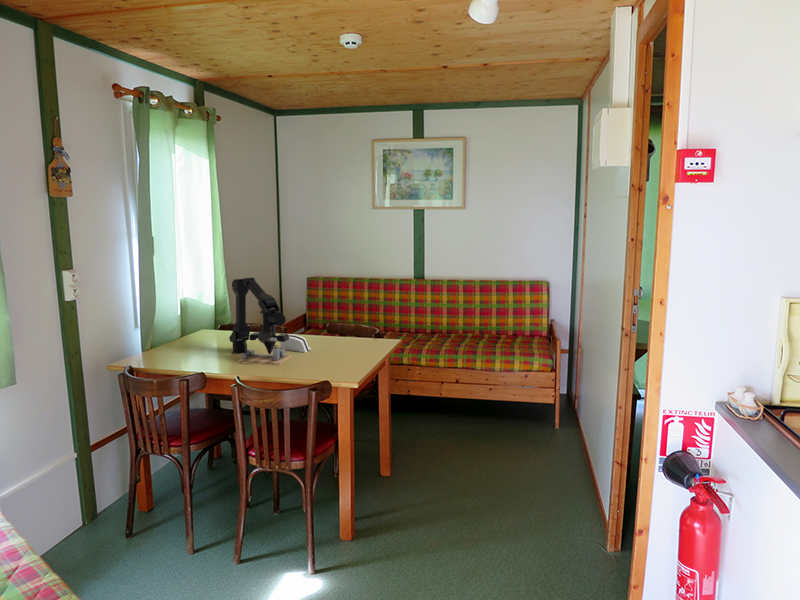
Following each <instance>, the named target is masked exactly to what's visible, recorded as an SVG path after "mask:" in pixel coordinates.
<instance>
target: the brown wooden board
mask: <svg viewBox="0 0 800 600" xmlns="http://www.w3.org/2000/svg"><path fill="white" fill-rule="evenodd" d="M270 355H273V353H271V354H270ZM291 357H292V356H291V355H290V354H289V355H288V354H287V355H286V354H285V358H280V359H279V360H273V358H271V357H254V356H248V358H247V359H242V357H241V358H240V359H238V360H237V363H238V362H247V363H246V364H252V363H259V364H258V365H268V364H272V365H271V366H281V365H282V364H283V362H284V363H285V362H287V361H288V360H290V359H292V358H291ZM289 358H290V359H289ZM286 360H287V361H286Z"/></svg>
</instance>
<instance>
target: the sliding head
mask: <svg viewBox="0 0 800 600" xmlns="http://www.w3.org/2000/svg"><path fill="white" fill-rule="evenodd" d="M272 355H273V360H279V359H280V356H283V355H286V350H285V349H281V346H279V345H278V344H275V345H274V347H273V350H272Z"/></svg>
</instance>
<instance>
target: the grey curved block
mask: <svg viewBox="0 0 800 600" xmlns="http://www.w3.org/2000/svg"><path fill="white" fill-rule="evenodd" d="M287 334H288V333H287ZM288 335H289V340H287V341H285V342H279V343H280V349H285V351H291V352H292V351H293V352H298V351H299V352H300V353H305V352H306V353H308V351H309V350H311V351H312V349H311V347H310V346H309V344H308V342H307V339H306V338H305V337H303V336H300V335H297V334H291V333H289V334H288ZM299 352H298V353H299Z"/></svg>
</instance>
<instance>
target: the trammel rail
mask: <svg viewBox="0 0 800 600" xmlns="http://www.w3.org/2000/svg"><path fill="white" fill-rule="evenodd" d="M247 350H248V351H246V352H245V353H243V354H241V355H242V356H241V358H242V359H247V358H248V356H254V357H271V358H273V354H272V355H270V354H268V353H255V349H247ZM285 355H286V354H285ZM285 355H283V356H280V358H285Z"/></svg>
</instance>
